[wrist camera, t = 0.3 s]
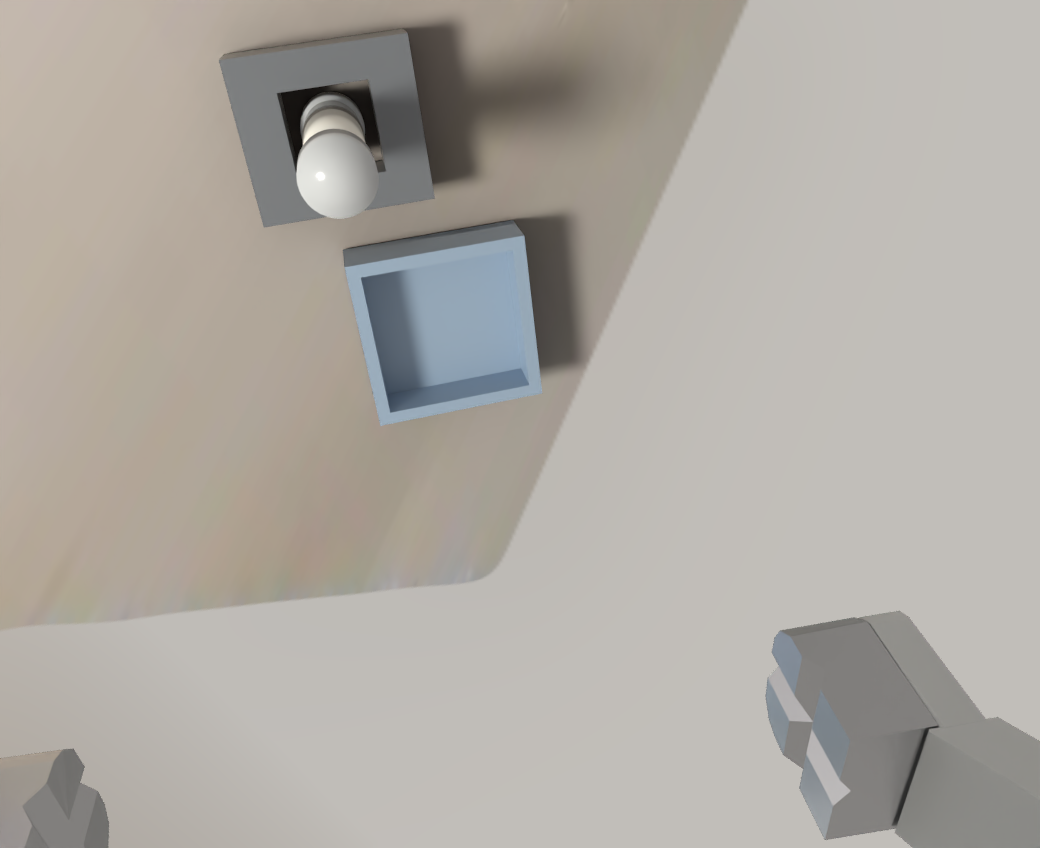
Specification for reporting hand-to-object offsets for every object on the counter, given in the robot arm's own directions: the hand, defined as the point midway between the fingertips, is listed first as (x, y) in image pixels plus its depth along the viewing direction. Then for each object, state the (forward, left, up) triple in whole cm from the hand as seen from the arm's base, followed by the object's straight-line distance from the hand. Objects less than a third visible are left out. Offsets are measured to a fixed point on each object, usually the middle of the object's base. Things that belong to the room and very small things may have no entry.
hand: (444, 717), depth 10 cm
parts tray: (+14, +4, -46) cm, 49 cm away
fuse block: (+1, -1, -46) cm, 46 cm away
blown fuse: (+1, -1, -46) cm, 46 cm away
